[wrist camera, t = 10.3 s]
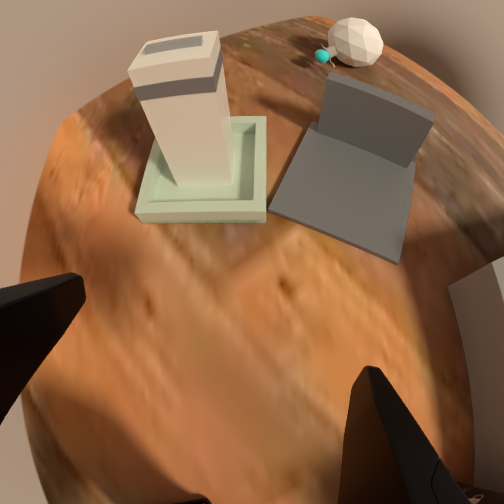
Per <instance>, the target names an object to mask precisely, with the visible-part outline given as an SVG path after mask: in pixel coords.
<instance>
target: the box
mask: <svg viewBox="0 0 504 504" xmlns="http://www.w3.org/2000/svg"><path fill="white" fill-rule="evenodd" d="M447 287H448V291H449V294H450V297H451V301H452V304H453V308H454V311H455V315H456V319H457V323H458V327H459V331H460V335H461V340H462V344H463V349H464V354H465V359H466V365H467V371H468V377H469V384H470V391H471V400H472V410H473V422H474V448H475V460H474V484H473V487H477V488H481V489H486V490H490V491H495V492H501V493H504V257H502V258H499V259H497V260H495V261H493V262H491V263H489V264H487V265H486V266H484V267H482V268H480V269H479V270H477V271H475V272H473V273H471V274H470V275H468V276H466V277H464V278H462V279H460V280H458V281H456V282H454V283H452V284H450V285H448V286H447Z"/></svg>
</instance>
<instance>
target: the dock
mask: <svg viewBox="0 0 504 504" xmlns="http://www.w3.org/2000/svg"><path fill="white" fill-rule="evenodd" d="M433 124H434V113H432V112H430V111H428V110H426V109H424V108H422V107H420V106H418V105H416V104H414V103H412V102H410V101H408V100H406V99H403V98H401V97H399V96H397V95H394V94H392V93H390V92H387V91H385V90H382V89H380V88H377V87H375V86H372V85H369V84H367V83H364V82H361V81H358V80H356V79H353V78H350V77H347V76H344V75H341V74H338V73H334V72H331V71H330V73H329V75H328V77H327V79H326V85H325V91H324V96H323V102H322V108H321V113H320V118H319V123H317V122H314V121H312V122H311V124H310V126H309V128H308V130H307V132H306V134H305V136H304V138H303V140H302V142H301V144H300V146H299V148H298V150H297V152H296V154H295V156H294V158H293V160H292V162H291V164H290V166H289V168H288V170H287V172H286V174H285V176H284V178H283V180H282V182H281V184H280V186H279V188H278V190H277V192H276V194H275V196H274V198H273V200H272V202H271V204H270V206H269V208H268V212H270V213H273V214H275V215H278V216H280V217H283V218H286V219H288V220H291V221H293V222H296V223H298V224H301V225H303V226H306V227H308V228H311V229H313V230H316V231H318V232H321V233H323V234H326V235H328V236H331V237H333V238H335V239H338V240H340V241H343V242H345V243H347V244H350V245H352V246H354V247H357V248H359V249H361V250H364V251H366V252H368V253H371V254H373V255H375V256H378V257H380V258H382V259H384V260H387V261H389V262H391V263H394V264H396V265H397V264H398V263H399V260H400V256H401V251H402V247H403V242H404V237H405V232H406V227H407V222H408V216H409V210H410V204H411V198H412V191H413V184H414V176H415V167H416V163H415V162H413V161H412V159H413V158H414V156H415V154H416V153H417V151H418V149H419V148H420V146H421V144H422V143H423V141H424V139H425V138H426V136H427V134H428V133H429V131H430V129H431V127H432V126H433Z"/></svg>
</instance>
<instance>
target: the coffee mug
mask: <svg viewBox="0 0 504 504" xmlns="http://www.w3.org/2000/svg"><path fill="white" fill-rule="evenodd" d="M456 483H457V482H456ZM457 484H458V486H459V487H460V489H461V490H462V491H463V493H464V494H465V495H466V497H467V498H468V499H469V500H470V502H471V503H472V504H504V493H501V492H495V491H490V490H486V489H481V488H477V487H473V486H469V485H465V484H461V483H457Z"/></svg>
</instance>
